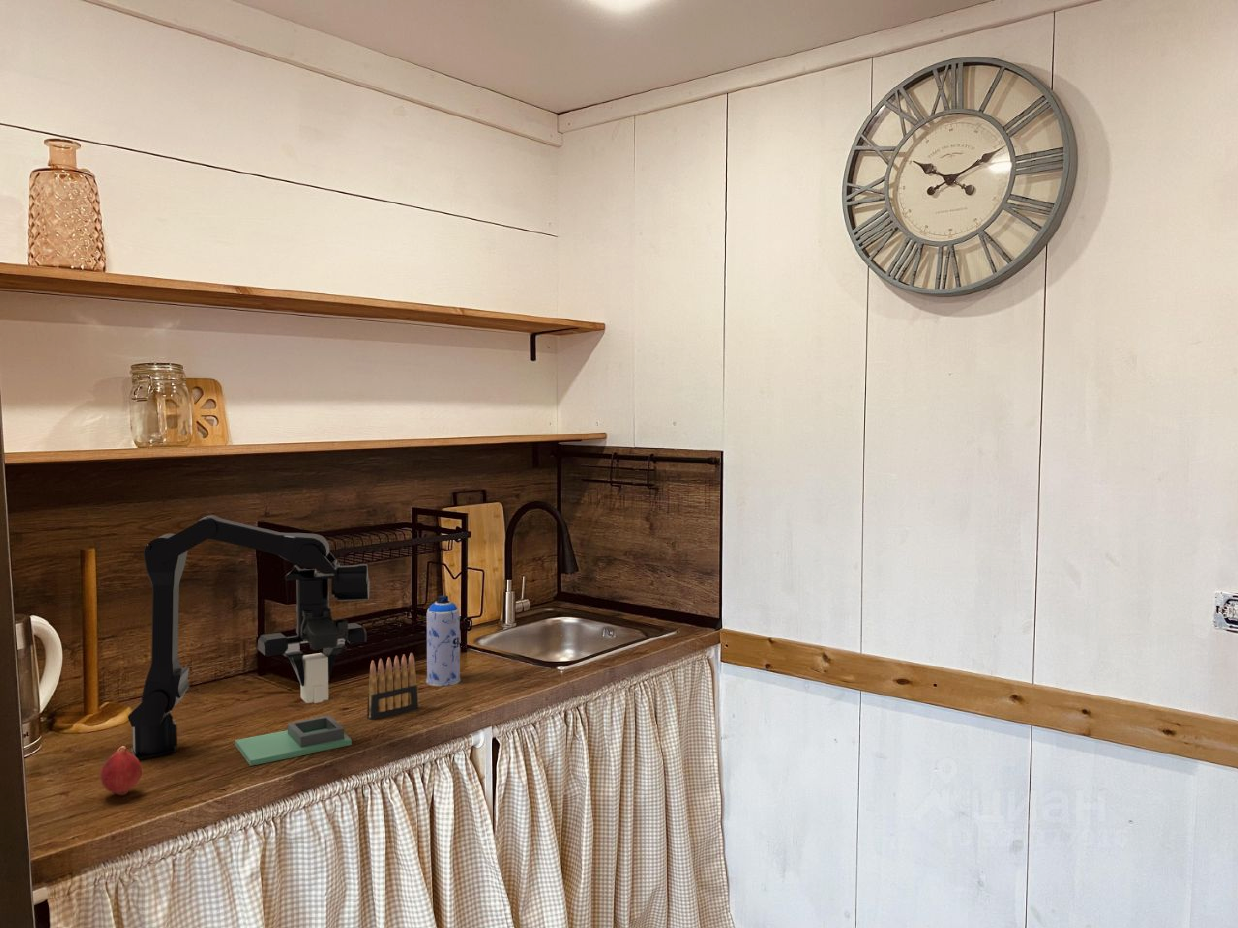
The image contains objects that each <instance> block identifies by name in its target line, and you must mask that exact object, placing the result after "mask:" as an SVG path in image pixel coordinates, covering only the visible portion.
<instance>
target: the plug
mask: <svg viewBox="0 0 1238 928" xmlns="http://www.w3.org/2000/svg"><path fill="white" fill-rule="evenodd" d="M302 661H303V670H304V686H301V685H300V684H299V686H300V699H301V700H302V701H304V702H305V703H306V704H309V703H314V704H317V703H322V702H324V701H328V700H329V679H328V657H326V656H325V655H324V654H323V652H319V653H312V654H303V659H302Z"/></svg>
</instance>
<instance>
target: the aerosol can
mask: <svg viewBox="0 0 1238 928" xmlns="http://www.w3.org/2000/svg"><path fill="white" fill-rule="evenodd" d="M460 614H461V613H460V608H459V607H458V606H457V605H456V604H455V603H453V602H451V601H450V600H449V596H448V595H445V594H444V595H440V596H438V597H437V601H435V602H433V603H432V604H431V605H430V606H429V607H428V609H427V610H426V680H425V681H426V684H427V685H429V686H431V687H448V686H454V685H457V684H459V683H460V682H461V681H462V680H461V677H460V676H461V673H460V671H461V667H460V665H461V660H460V659H461V655H460V654H461V653H460V652H461V650H460V648H461V647H460V645H461V643H460V641H461V640H460V636H461V634H460V632H461V631H460V630H461V629H460V627H461V625H460V621H461V619H460V617H461V615H460Z"/></svg>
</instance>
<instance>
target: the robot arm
mask: <svg viewBox="0 0 1238 928" xmlns="http://www.w3.org/2000/svg"><path fill="white" fill-rule="evenodd" d="M207 540H213V541H217V542H222V543H226V544H231V545H236V546H240V547H243V548H249V549H253V550H257V551H261V552H264V553H265V552H266V553H269V554H274V555H276V556H279V557H280V558H282V559H283V560H285V561H287V562H290V563H292V564H294V566H293V567H292V569H291V571H289V572H288V573H287V574H286V575H285V576H284V579H285V580H286V581H296V582H295V583H296V605H295V612H296V627H295V633H296V634H297V635H292V636H285V635H284V634H283V633H281V632H277V633H276V632H275V633H267V634H262V635H260V637H259V638H258V641H257V649H258V651H259V652H260V653H262V654H263V655H264V656H266V657H271V656H278V655H282V656H284V657H285V658H288V659H289V661H290V663H291V665H292V668H293V670H294V672H295V675H296V677H297V680H298V682H299V686H300V685H301V686H304V670H303V661H302V659H303V656H304V652H303V651H301V649H300V648H301V646H307V645H309V647H310V649H311V650H312V651H320V650H321V649H322V654H324V655H325V656H326V657H328V680H329V679H330V675H331V673H332V670H333V667H334V665H335V662H336V660H337V657H338V655H339V654H340V653H341V652H342V651H343V650H346V649H347V648H348V645H346V644H345V643H346V641H347V642H348V643H349V644H351V645H353V644H354V645H355V644H361V643H362V644H363V643H366V642H367V631H366V628H365V627H363V626H362V625H361V624H358V623H357V622H352V623H349V621H348V619H347V618H346V617H345V618H337V619H333V617H332V611H331V608H330V600H329V599H330V598H329V595H330V594H329V593H330V592H329V580H330V579H331V583H330V586H331V587H330V589H331V590H330V591H331V596H332V597H334V598H335V599H337V601H338V602H345V601H346V602H348V601H368V600H370V587H371V586H370V584H371V583H370V578H369V570H368V569H369V568H368V564H367V563H359V564H353V565H349V564H348V565H341V564H340V563H339V561H338V560H337V559H336V557H335V556H334V555H333V553H332V552H331V551H330V545H329V542H328V541H327V538H325V537H324V536H323V535H320V534H319V533H318V534H317V533H306V532H305V533H304V532H282V531H281V532H279V531H276V530H272V529H267V528H262V527H259V526H254V525H251V524H246V523H241V522H239V521H238V522H237V521H233V520H229V519H225V518H222V517H221V518H220V517H219V516H217V515H211V514H210V515H206V516H204V517H202V518H200V519H199V520H198V521H196V523H193V524H192V525H190V526H188V527H186V528H184V529H183V530H181V531H179V532H177V533H165V534H163V535H161V536H158V537H157V538H154V539H152V540H151V541H149V542H148V543H147V544H146V545H145V548H144V549H143V559H144V565H145V571H146V575H147V577H148V580H149V582H150V584H151V587H152V593H151V594H152V597H151V600H152V602H151V611H152V612H151V655H150V656H151V658H150V660H151V661H150V666H149V669H148V673H147V676H146V678H145V681H144V685H143V686H144V687H143V691H142V696H141V702H140V703H139V704H138V705H137V706H136V707H135V708H134V709H133V710H132V712H131V711H130V713H129V714H128V715H127V719H128V721H129V723H130V726H131V727H132V747H131V752H132V754H133V755H135V756H136V757H137V758H138V760H139V761H140V760H143V759H149V758H154V757H155V758H156V757H158V756H164V755H169V754H170V755H171V754H174V753H176V752H177V751H176V750H177V749H176V748H175V747H177V745H178V737H177V735H178V734H177V733H178V731H177V729H178V728H177V727H178V726H177V723H176V722H175V721H174V717H173V715H172V714H171V712H172V711H173V709H174V708H175V707H176V706H177V704H178V703H179V702H180V701H181V700H182V698H183V697H184V696H185V694H186V691H188V689H189V688H190V684H189V681H188V677H189V671H190V667H189V666H183V667H182V666H181V664H180V661H179V657H178V656H179V655H178V654H179V653H178V652H179V650H178V647H179V603H180V602H179V597H180V595H179V594H180V592H179V591H180V590H179V589H180V587H179V586H180V581H181V578H182V575H183V573H184V569H185V566H186V560H187V556H188V551H189V550H191V549H192V548H194V547H196V546H199V545H200V544H202V543H204V542H205V541H207ZM299 566H300V567H302V568H303V569H302V568H300V567H299ZM304 568H305V569H304Z"/></svg>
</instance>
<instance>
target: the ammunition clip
mask: <svg viewBox="0 0 1238 928" xmlns="http://www.w3.org/2000/svg"><path fill="white" fill-rule="evenodd" d="M400 662H401V663H400ZM400 665H401V666H400ZM369 667H370V668H369V681H368V694H367V710H366V711H367V712H366V718H367V719H369V720H371V721H373V720H379V719H382V718H386V717H390V716H394V715H395V716H396V715H399V714H402V713H407V712H411V711H415V710H418V709H419V707H418V706H419V705H418V704H419V703H418V702H419V701H418V685H416V684H417V681H416V679H417V678H416V670H415V667H416V666H415V657H414V654H413V652H410V653H409V657H408V662H407V657H406V654H402V657H401V661H400V660H399V656H398V655H395V657H394V661H393V666H392V660H391V657H390V656H389V657H387V660H386V664H385V667H384V662H383V659H382V658H379V660H378V667H377V669H376V664H375V661H374V660H371V663H370V666H369Z"/></svg>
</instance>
